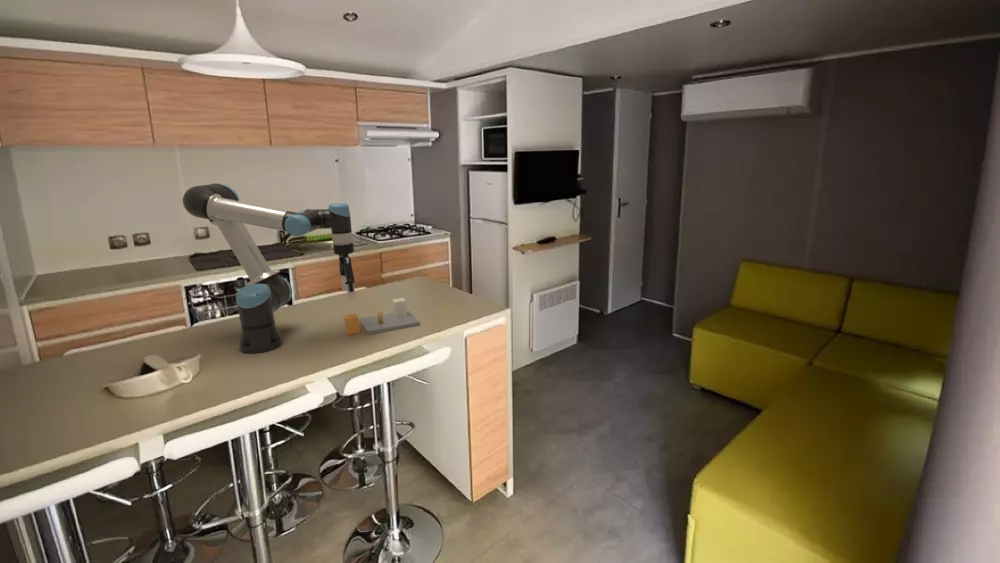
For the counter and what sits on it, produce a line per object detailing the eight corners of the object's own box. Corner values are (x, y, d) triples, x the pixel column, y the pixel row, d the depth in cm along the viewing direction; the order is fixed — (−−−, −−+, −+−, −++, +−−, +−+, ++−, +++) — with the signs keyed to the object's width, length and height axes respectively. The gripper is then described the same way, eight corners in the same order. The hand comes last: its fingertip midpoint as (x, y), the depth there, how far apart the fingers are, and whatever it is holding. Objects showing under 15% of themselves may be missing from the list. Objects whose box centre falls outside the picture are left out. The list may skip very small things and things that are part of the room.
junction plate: (367, 334, 197) (365, 314, 195) (359, 321, 213) (357, 302, 210) (419, 325, 206) (418, 306, 204) (408, 313, 222) (406, 295, 220)
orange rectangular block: (347, 335, 197) (345, 319, 195) (345, 331, 201) (343, 315, 199) (359, 333, 199) (358, 316, 197) (357, 329, 203) (355, 313, 201)
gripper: (358, 247, 181) (364, 301, 187) (347, 237, 203) (352, 286, 208) (338, 249, 178) (344, 304, 183) (328, 239, 199) (334, 288, 205)
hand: (348, 294), depth 196 cm, fingers open, 13 cm apart
